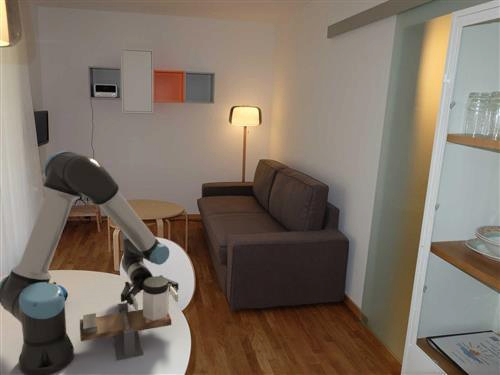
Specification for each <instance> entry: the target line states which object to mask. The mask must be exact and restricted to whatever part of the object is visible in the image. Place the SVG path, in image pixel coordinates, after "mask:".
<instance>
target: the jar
mask: <svg viewBox="0 0 500 375" xmlns="http://www.w3.org/2000/svg"><path fill="white" fill-rule="evenodd" d="M166 278H167V277H164V276H163V277H160V275H159V276H158V275H156V276H153V277H150V278H147V279H146V280H145V281H144V282H143V289H144V290H142V309H143V317H145V318H147V319H150V320H152V321H155V320H159V319H163V318H166V317H167V314H168V313H169V310H170V309H169V308H170V307H169V306H170V305H169V304H170V297H169V296H170V292H169V286H168V280H167V279H168V278H167V279H166Z"/></svg>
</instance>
